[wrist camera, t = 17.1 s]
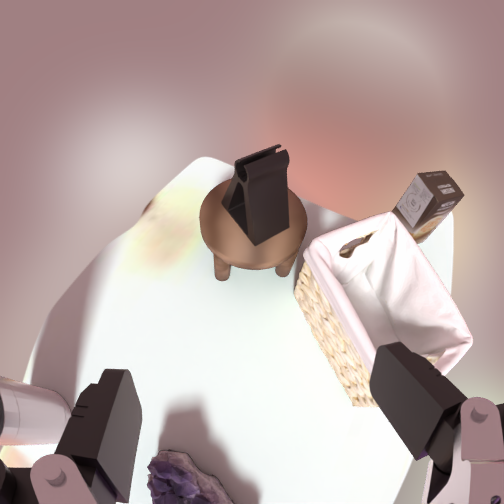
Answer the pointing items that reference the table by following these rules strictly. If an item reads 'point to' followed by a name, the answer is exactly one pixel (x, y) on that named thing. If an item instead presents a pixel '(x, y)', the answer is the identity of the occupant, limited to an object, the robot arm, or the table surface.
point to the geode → (182, 481)
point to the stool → (238, 244)
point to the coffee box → (427, 203)
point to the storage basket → (376, 302)
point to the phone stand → (260, 194)
